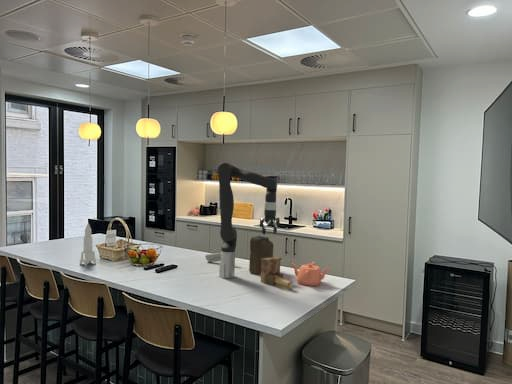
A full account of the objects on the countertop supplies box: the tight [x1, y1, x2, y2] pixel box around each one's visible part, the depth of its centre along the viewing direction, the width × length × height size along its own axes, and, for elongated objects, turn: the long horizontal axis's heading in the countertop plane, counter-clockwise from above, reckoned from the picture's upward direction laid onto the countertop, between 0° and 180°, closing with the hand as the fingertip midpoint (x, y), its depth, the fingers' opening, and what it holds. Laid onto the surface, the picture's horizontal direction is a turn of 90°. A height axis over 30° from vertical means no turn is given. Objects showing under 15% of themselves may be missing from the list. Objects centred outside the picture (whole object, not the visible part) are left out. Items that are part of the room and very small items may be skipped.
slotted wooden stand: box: [260, 256, 285, 286], centre depth 237 cm, size 13×10×15 cm
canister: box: [248, 235, 274, 275], centre depth 262 cm, size 19×8×25 cm, turn 142°
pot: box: [291, 261, 330, 287], centre depth 239 cm, size 18×17×12 cm
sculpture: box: [79, 222, 97, 267], centre depth 266 cm, size 7×8×30 cm
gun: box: [204, 252, 221, 263], centre depth 280 cm, size 2×25×10 cm, turn 66°
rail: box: [274, 275, 293, 292], centre depth 230 cm, size 4×17×5 cm, turn 34°
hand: (269, 233), depth 242 cm, fingers open, 8 cm apart
